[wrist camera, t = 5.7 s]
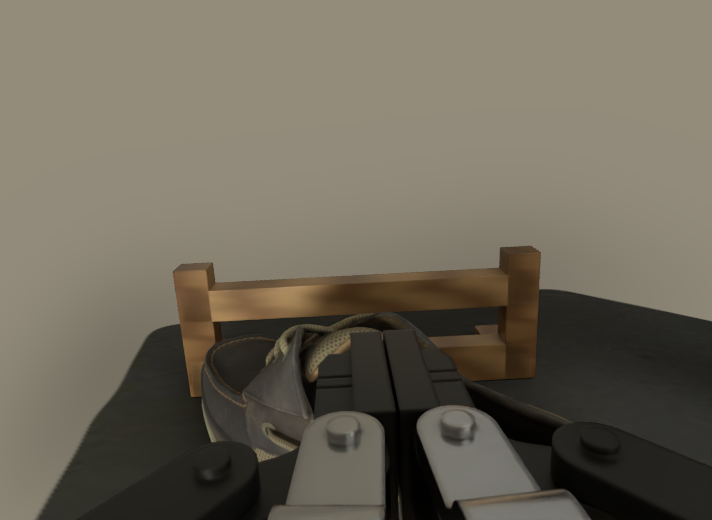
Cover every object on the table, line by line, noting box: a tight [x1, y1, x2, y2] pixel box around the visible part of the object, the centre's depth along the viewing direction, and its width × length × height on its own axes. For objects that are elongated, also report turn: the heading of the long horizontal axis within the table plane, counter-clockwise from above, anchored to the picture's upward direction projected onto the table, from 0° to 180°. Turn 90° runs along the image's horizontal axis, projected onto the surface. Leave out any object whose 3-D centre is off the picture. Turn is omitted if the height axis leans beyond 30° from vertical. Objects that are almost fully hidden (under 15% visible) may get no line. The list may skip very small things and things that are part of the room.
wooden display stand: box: [173, 246, 541, 397], centre depth 42 cm, size 27×8×10 cm, turn 92°
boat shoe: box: [201, 312, 573, 520], centre depth 26 cm, size 11×29×11 cm, turn 42°
